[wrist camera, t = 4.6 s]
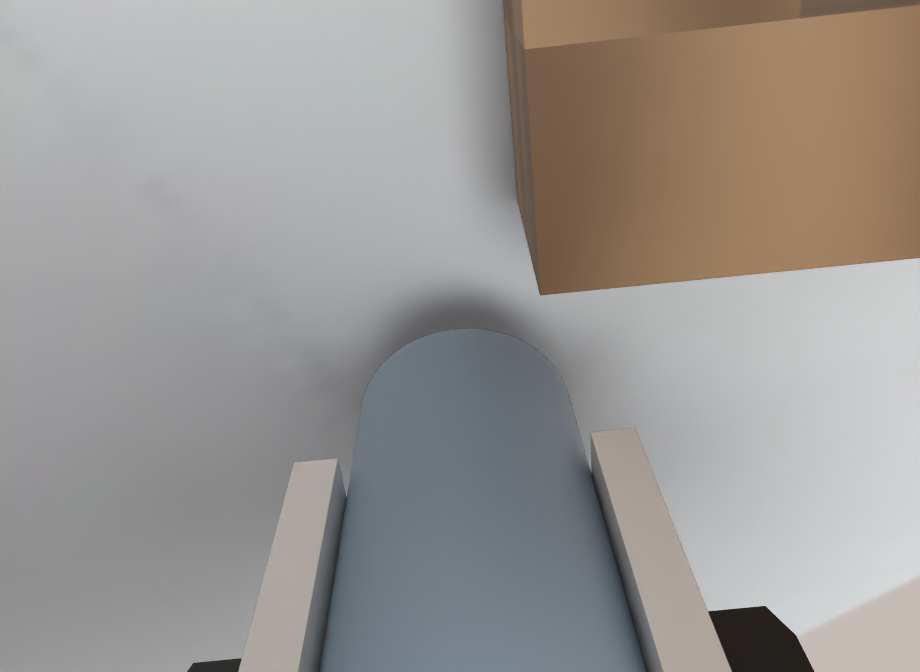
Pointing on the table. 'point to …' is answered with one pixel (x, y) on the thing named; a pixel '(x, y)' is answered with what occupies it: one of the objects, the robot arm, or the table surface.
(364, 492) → the peg
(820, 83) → the socket block
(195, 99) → the table surface
